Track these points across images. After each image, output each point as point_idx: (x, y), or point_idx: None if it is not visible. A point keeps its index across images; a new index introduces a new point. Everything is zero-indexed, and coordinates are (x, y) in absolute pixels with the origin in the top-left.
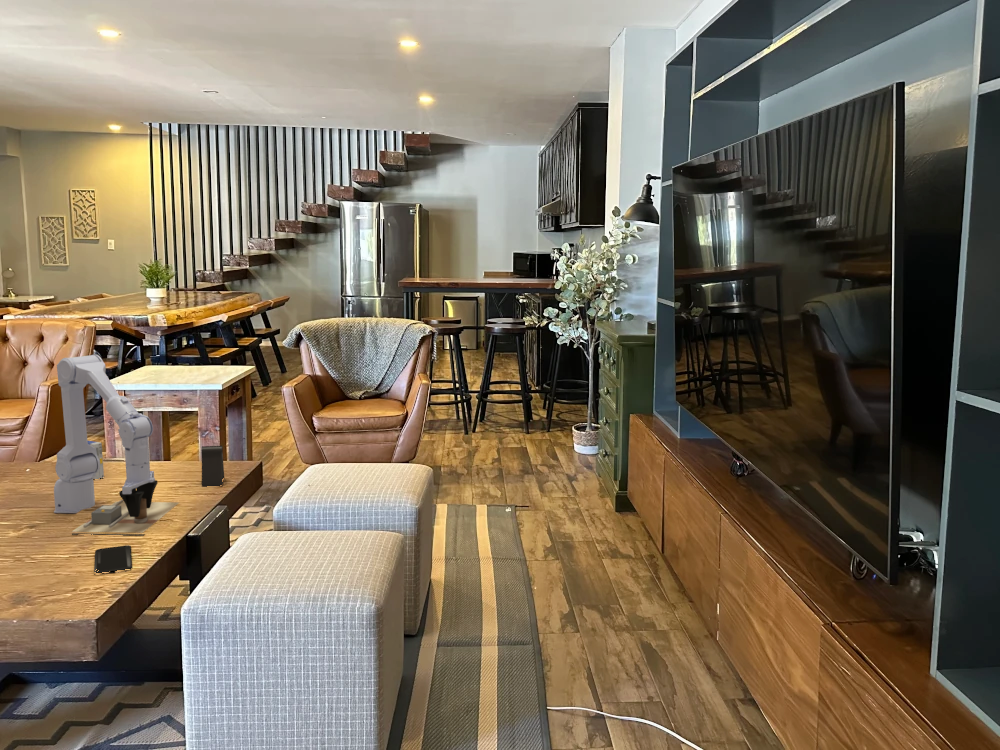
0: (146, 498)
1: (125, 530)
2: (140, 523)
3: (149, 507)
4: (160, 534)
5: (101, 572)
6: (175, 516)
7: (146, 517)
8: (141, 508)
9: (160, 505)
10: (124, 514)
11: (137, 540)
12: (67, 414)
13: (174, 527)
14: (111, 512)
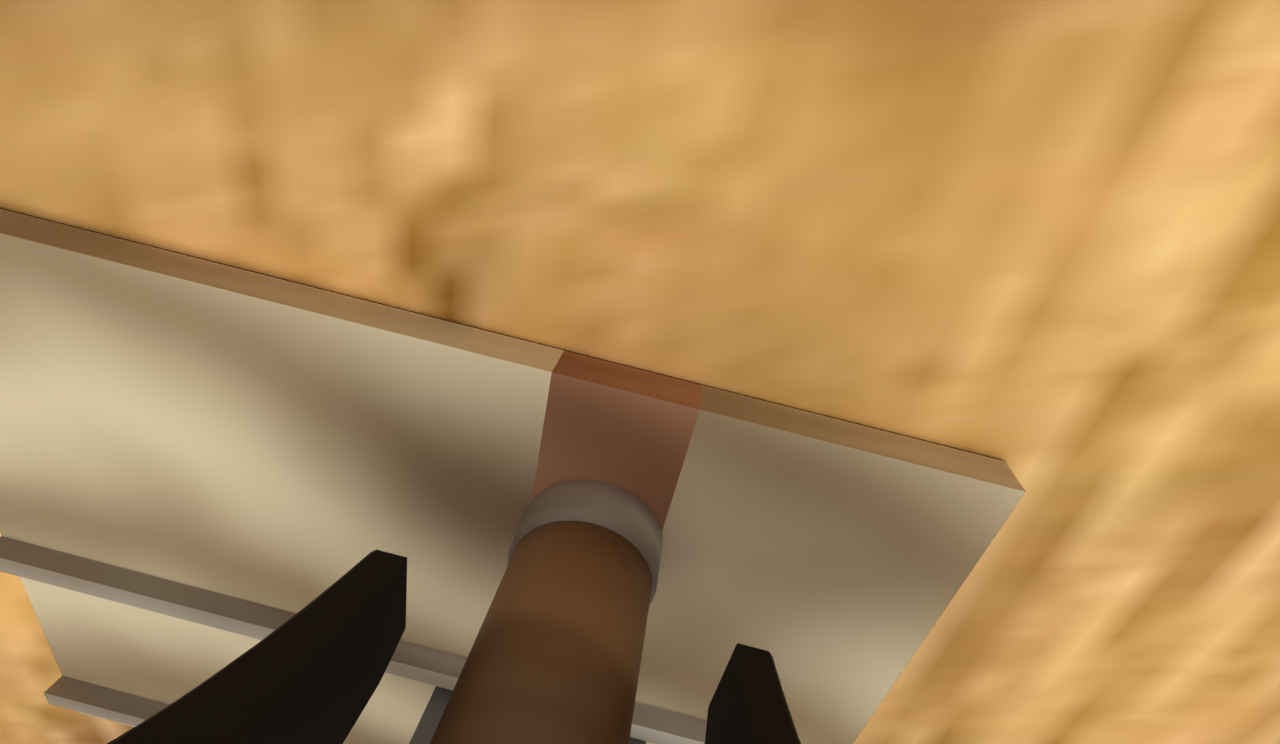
0: (311, 720)
1: (862, 638)
2: (660, 536)
3: (396, 561)
4: (1025, 272)
5: None
6: (300, 177)
7: (598, 523)
8: (625, 694)
9: (48, 404)
10: (420, 677)
11: (1129, 498)
12: None
13: (771, 112)
14: None
